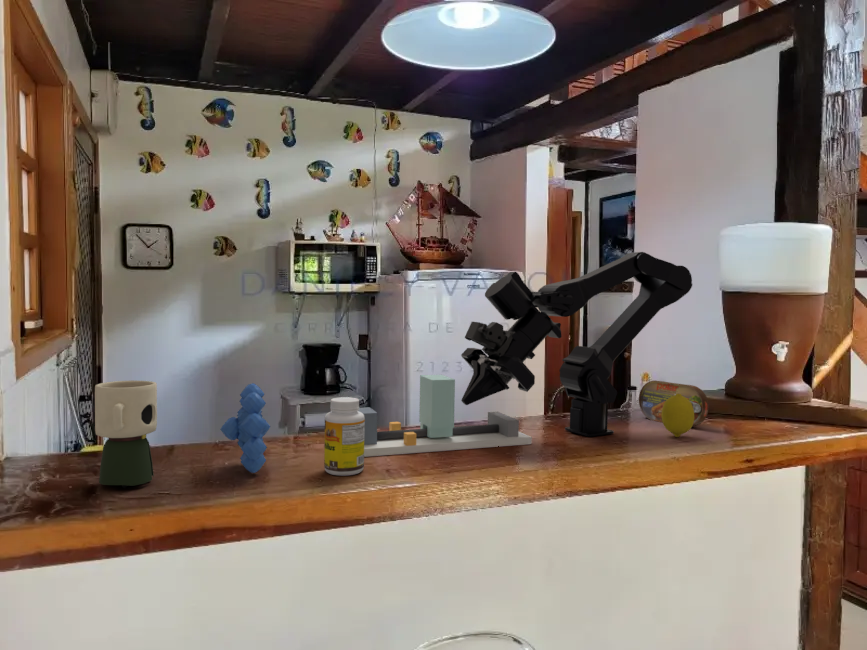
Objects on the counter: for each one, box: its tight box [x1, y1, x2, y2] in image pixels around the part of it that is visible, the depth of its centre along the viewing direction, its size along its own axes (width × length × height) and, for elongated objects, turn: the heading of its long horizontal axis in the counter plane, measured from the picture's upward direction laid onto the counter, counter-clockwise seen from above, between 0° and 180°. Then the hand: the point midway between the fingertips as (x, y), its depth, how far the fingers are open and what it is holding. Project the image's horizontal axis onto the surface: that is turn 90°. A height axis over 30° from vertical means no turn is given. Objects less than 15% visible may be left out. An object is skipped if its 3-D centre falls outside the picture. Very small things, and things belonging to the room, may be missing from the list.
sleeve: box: [418, 374, 456, 438], centre depth 104 cm, size 4×6×10 cm, turn 20°
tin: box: [638, 380, 710, 427], centre depth 125 cm, size 15×3×8 cm, turn 32°
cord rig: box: [359, 406, 533, 458], centre depth 104 cm, size 30×10×6 cm, turn 110°
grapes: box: [219, 382, 271, 474], centre depth 86 cm, size 12×7×12 cm, turn 19°
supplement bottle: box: [323, 396, 365, 477], centre depth 87 cm, size 6×6×10 cm
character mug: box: [94, 380, 158, 489], centre depth 79 cm, size 11×7×13 cm, turn 15°
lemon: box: [661, 394, 694, 438], centre depth 112 cm, size 6×6×8 cm
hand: (463, 403), depth 105 cm, fingers closed
